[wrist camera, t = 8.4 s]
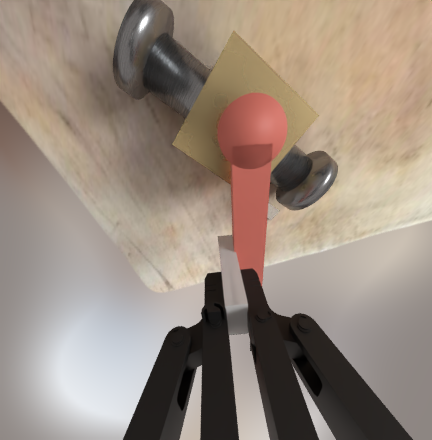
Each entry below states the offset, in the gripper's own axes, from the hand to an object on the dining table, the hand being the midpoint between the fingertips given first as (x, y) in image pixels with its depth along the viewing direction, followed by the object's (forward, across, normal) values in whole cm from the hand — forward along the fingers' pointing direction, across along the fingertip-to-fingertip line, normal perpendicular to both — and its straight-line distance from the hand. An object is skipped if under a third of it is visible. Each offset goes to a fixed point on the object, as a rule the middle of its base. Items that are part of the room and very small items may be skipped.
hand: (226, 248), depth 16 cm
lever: (-1, +2, +4) cm, 4 cm away
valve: (+8, +2, +8) cm, 11 cm away
